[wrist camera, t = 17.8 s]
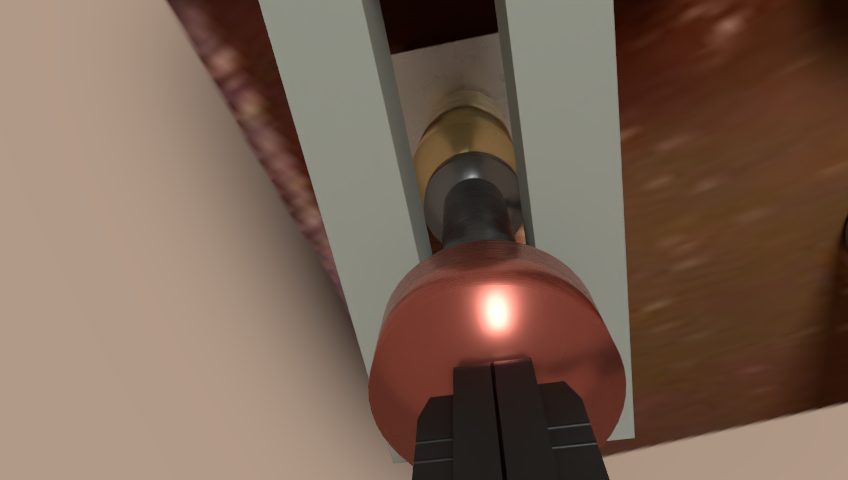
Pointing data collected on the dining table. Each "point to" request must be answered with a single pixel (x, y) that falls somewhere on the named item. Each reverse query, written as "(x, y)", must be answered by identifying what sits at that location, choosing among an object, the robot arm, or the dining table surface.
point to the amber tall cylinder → (461, 133)
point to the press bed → (448, 78)
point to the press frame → (393, 165)
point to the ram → (487, 308)
